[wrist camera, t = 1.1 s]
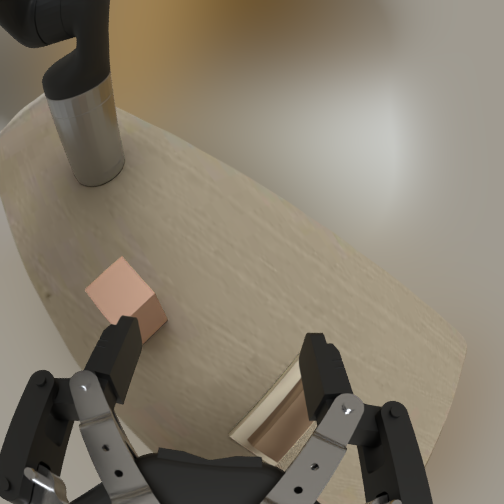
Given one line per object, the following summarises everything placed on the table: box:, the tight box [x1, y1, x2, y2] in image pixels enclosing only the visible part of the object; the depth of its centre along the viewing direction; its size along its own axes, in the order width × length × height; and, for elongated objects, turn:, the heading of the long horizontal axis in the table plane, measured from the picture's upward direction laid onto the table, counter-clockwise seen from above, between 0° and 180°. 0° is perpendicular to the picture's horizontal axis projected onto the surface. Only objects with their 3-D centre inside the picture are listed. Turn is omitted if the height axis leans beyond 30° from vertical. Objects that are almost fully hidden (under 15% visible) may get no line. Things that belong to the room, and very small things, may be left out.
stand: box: [229, 353, 314, 466], centre depth 27 cm, size 7×14×5 cm, turn 139°
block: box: [85, 256, 168, 344], centre depth 26 cm, size 4×4×12 cm
